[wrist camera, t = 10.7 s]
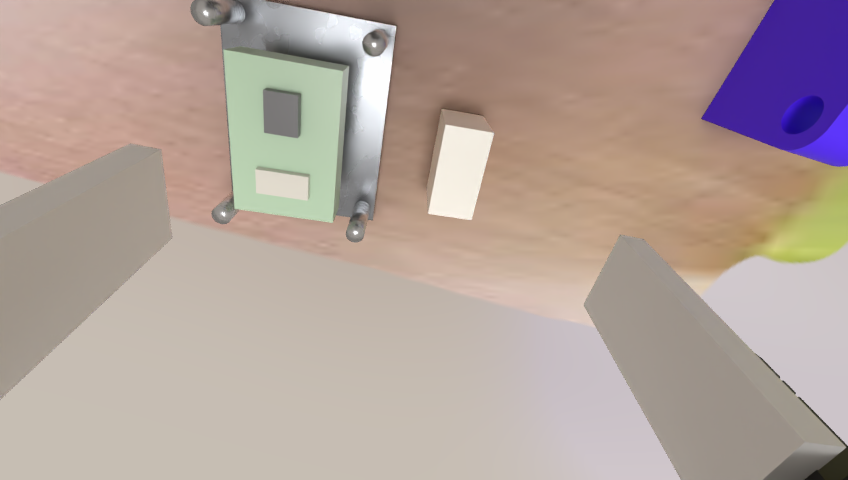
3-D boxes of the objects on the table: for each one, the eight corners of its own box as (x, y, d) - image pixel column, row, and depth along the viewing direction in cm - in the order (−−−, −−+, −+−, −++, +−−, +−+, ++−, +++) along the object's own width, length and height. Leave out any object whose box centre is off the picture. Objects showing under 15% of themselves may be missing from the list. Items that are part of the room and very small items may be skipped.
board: (240, 46, 29) (218, 50, 26) (349, 65, 30) (340, 72, 27) (248, 194, 35) (230, 213, 32) (338, 207, 36) (331, 227, 33)
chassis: (224, -8, 32) (182, -12, 26) (396, 25, 33) (392, 28, 28) (237, 195, 41) (208, 225, 35) (373, 215, 42) (366, 247, 37)
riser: (441, 108, 37) (445, 124, 32) (483, 115, 37) (494, 132, 32) (426, 187, 41) (428, 213, 36) (464, 193, 41) (471, 220, 36)
